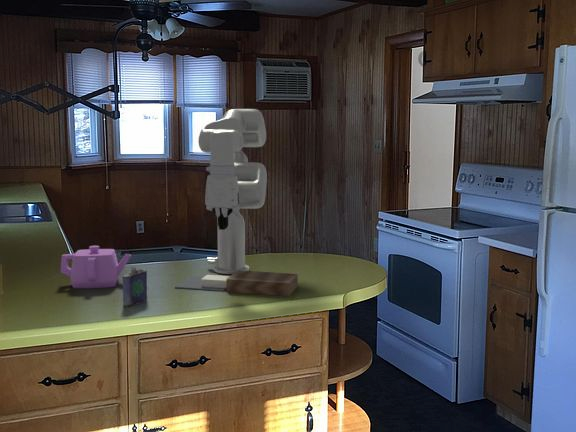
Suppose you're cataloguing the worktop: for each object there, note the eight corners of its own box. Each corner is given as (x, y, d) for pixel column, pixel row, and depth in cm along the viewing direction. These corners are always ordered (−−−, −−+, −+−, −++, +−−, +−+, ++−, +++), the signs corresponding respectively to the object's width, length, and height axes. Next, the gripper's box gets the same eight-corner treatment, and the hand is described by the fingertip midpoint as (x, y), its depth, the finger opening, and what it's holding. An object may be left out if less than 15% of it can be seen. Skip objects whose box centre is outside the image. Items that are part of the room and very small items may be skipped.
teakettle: (57, 284, 212) (55, 247, 210) (99, 274, 226) (98, 239, 224) (91, 293, 202) (90, 253, 200) (133, 282, 216) (132, 245, 214)
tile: (201, 286, 209) (201, 279, 209) (207, 281, 215) (207, 274, 215) (228, 288, 207) (228, 280, 207) (233, 283, 213) (233, 276, 213)
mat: (175, 288, 209) (175, 286, 209) (191, 277, 222) (191, 276, 222) (223, 291, 205) (223, 290, 205) (236, 280, 219) (236, 279, 219)
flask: (127, 307, 188) (126, 270, 186) (120, 306, 189) (118, 269, 188) (149, 299, 196) (148, 264, 194) (141, 298, 197) (140, 263, 196)
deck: (226, 291, 205) (226, 279, 204) (237, 282, 216) (237, 270, 216) (289, 295, 201) (289, 283, 200) (297, 286, 212) (297, 273, 211)
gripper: (195, 171, 204) (196, 229, 207) (242, 172, 200) (242, 232, 203) (203, 169, 211) (204, 225, 214) (248, 170, 208) (249, 228, 211)
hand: (223, 228), depth 209 cm, fingers closed
